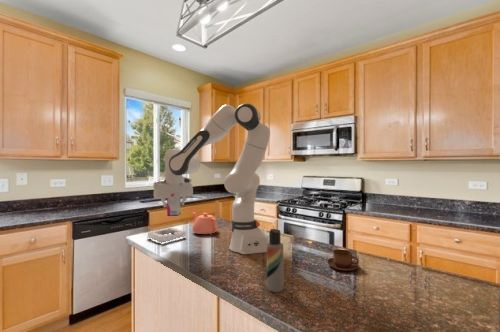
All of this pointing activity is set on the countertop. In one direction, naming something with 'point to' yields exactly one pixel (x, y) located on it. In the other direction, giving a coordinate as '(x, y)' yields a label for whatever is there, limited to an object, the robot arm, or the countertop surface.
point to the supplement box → (173, 205)
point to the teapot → (204, 224)
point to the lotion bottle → (275, 262)
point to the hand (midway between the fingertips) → (174, 206)
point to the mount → (161, 237)
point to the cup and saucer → (343, 260)
